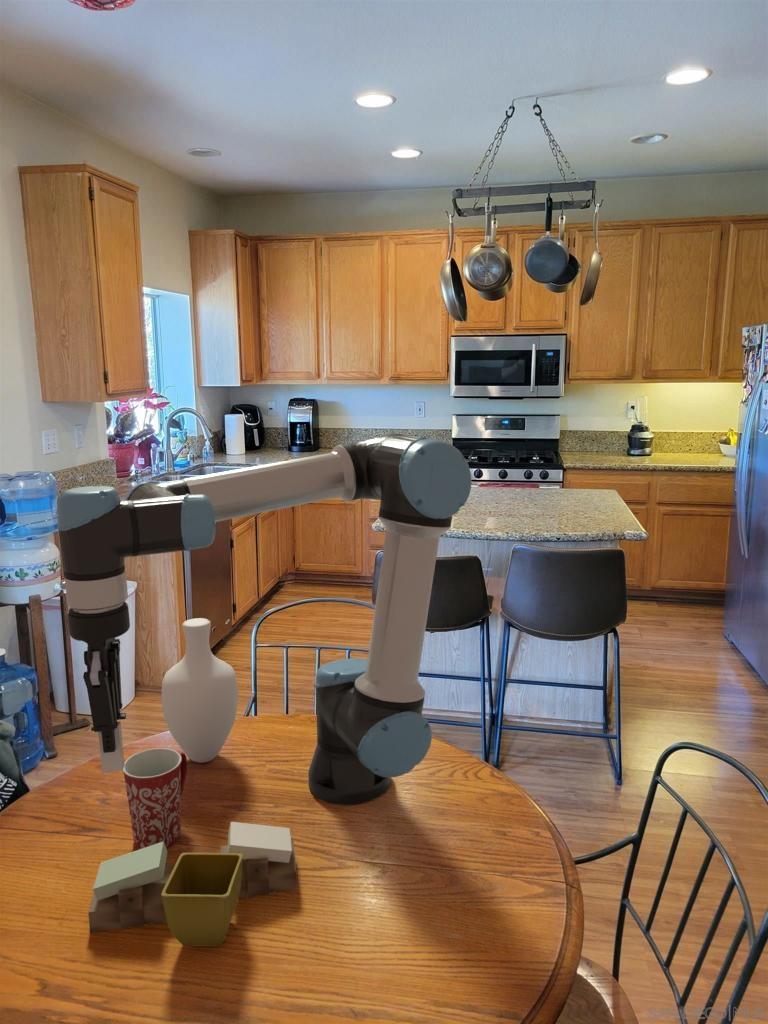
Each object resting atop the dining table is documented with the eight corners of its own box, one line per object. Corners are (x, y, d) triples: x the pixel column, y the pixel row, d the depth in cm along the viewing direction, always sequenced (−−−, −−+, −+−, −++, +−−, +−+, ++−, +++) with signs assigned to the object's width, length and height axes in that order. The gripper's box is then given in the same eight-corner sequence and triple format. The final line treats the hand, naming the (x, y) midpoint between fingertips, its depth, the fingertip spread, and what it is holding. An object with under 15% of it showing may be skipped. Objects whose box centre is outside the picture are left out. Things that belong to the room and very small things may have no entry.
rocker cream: (286, 839, 112) (289, 828, 111) (289, 862, 106) (291, 851, 106) (228, 833, 110) (230, 821, 109) (227, 856, 104) (230, 844, 104)
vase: (172, 742, 149) (164, 611, 144) (243, 738, 151) (238, 608, 146) (159, 780, 135) (149, 636, 130) (237, 775, 137) (231, 633, 131)
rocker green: (167, 852, 105) (163, 841, 105) (163, 878, 100) (158, 866, 99) (105, 873, 104) (100, 862, 104) (97, 900, 99) (92, 889, 98)
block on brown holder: (293, 854, 114) (292, 824, 113) (297, 890, 106) (296, 858, 105) (221, 862, 112) (220, 832, 111) (219, 900, 104) (218, 868, 103)
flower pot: (184, 908, 102) (181, 851, 101) (246, 909, 102) (243, 852, 100) (164, 957, 94) (159, 895, 92) (231, 958, 93) (228, 896, 92)
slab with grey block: (179, 880, 108) (177, 849, 107) (174, 921, 100) (172, 888, 99) (101, 890, 106) (99, 858, 105) (89, 933, 98) (86, 898, 97)
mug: (162, 861, 112) (156, 781, 110) (115, 848, 116) (109, 770, 113) (210, 816, 124) (206, 743, 121) (166, 805, 127) (162, 733, 125)
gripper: (78, 592, 101) (93, 748, 106) (55, 623, 89) (74, 798, 93) (134, 588, 103) (147, 742, 107) (119, 618, 90) (135, 791, 95)
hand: (113, 768), depth 100 cm, fingers closed
